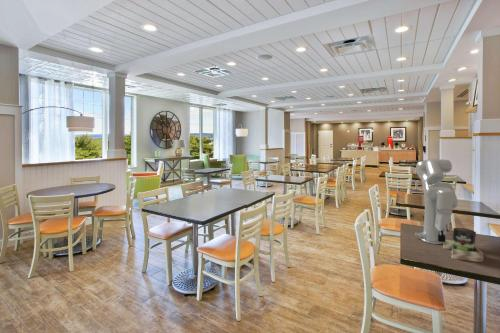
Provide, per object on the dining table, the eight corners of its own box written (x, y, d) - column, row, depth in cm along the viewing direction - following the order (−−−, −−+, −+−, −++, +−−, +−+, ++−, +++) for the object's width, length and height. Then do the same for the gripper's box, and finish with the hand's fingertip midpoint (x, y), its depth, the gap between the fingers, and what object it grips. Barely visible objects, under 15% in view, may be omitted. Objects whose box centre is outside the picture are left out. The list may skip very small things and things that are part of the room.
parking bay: (452, 258, 154) (452, 249, 153) (443, 247, 169) (443, 239, 168) (482, 262, 149) (483, 253, 149) (470, 251, 164) (471, 242, 163)
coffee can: (473, 259, 152) (475, 235, 151) (450, 254, 159) (452, 230, 158) (474, 253, 160) (476, 230, 158) (452, 249, 167) (454, 226, 165)
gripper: (432, 207, 168) (430, 236, 170) (440, 213, 154) (437, 245, 156) (447, 208, 166) (444, 237, 168) (456, 215, 152) (453, 247, 154)
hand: (441, 241), depth 162 cm, fingers closed
